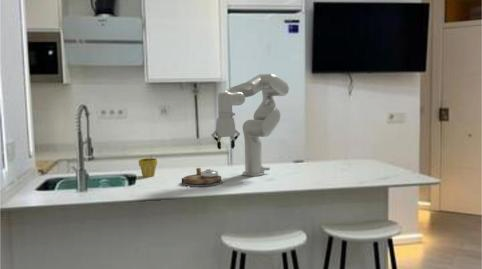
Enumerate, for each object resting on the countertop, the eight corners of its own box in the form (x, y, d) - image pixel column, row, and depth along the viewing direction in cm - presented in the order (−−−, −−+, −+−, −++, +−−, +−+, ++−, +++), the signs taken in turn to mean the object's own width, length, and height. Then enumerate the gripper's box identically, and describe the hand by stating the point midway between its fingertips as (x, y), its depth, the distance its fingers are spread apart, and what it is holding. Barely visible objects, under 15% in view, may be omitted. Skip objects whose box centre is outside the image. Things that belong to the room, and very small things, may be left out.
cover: (215, 174, 268) (215, 167, 267) (219, 177, 259) (219, 170, 259) (199, 176, 265) (199, 168, 265) (203, 179, 256) (202, 171, 256)
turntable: (216, 176, 273) (215, 166, 273) (225, 182, 254) (225, 172, 254) (180, 178, 268) (180, 169, 267) (187, 185, 249) (186, 175, 248)
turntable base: (217, 177, 275) (217, 172, 274) (227, 185, 254) (227, 179, 253) (178, 180, 268) (178, 174, 268) (185, 188, 247) (185, 182, 247)
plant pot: (153, 178, 277) (153, 160, 276) (136, 177, 279) (135, 160, 278) (160, 174, 287) (159, 158, 286) (143, 174, 290) (143, 157, 289)
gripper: (238, 114, 267) (239, 147, 269) (207, 115, 262) (208, 148, 264) (242, 115, 260) (243, 148, 262) (211, 116, 255) (211, 150, 257)
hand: (226, 148), depth 263 cm, fingers open, 6 cm apart
